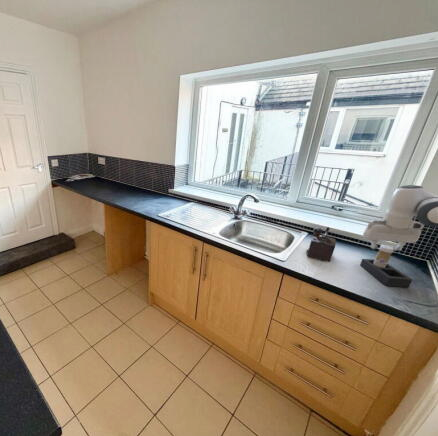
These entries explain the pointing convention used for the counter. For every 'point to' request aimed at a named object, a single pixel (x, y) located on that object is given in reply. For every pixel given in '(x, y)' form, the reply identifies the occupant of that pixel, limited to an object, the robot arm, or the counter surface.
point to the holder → (386, 274)
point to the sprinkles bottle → (383, 256)
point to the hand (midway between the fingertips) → (384, 249)
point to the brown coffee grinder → (321, 245)
